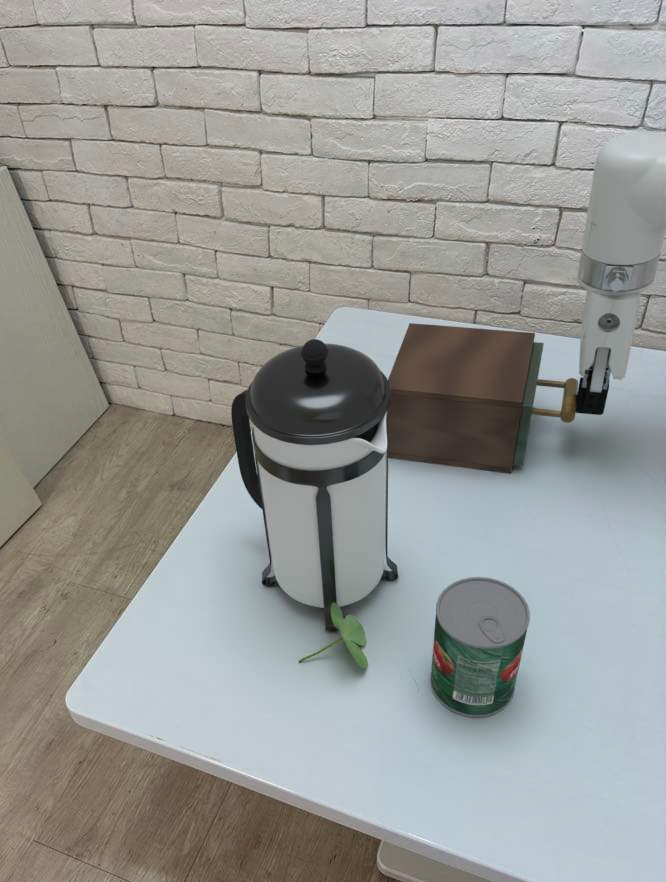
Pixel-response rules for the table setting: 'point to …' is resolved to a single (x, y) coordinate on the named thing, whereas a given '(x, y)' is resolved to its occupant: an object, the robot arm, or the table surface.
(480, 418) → the cabinet
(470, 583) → the canned tomato
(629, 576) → the table surface
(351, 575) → the coffee press
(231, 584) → the table surface
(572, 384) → the drawer
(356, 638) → the seedling
